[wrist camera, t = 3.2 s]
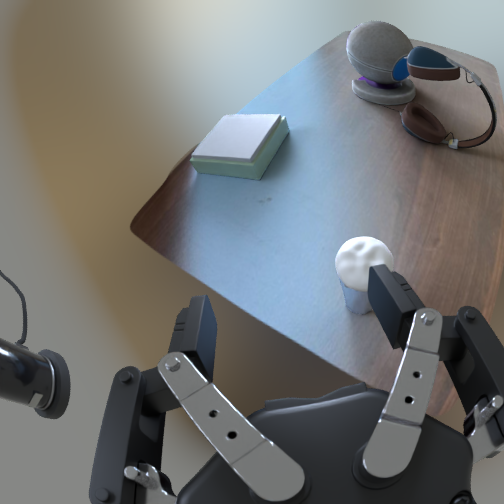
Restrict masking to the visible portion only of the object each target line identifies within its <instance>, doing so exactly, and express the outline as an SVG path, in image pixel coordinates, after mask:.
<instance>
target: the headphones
mask: <svg viewBox="0 0 504 504" xmlns="http://www.w3.org/2000/svg"><path fill="white" fill-rule="evenodd" d="M404 58H405V59H407V68H408V72H409V74H410V75H411V76H413V77H416V78H420V79H425V80H437V81H450V80H456V79H458V78H459V77H460V67H461V68H463V69H464V70H465V71H467V72H468V73H470V74H471V78H472V79H473V80H474V81H472V82H475V83H476V84H477V86H479V87H480V88H481V90H482V91H483V93H484V95H485V97H486V99H487V101H488V103H489V106H490V109H491V112H492V121H491V125H490V127H489V129H488V130H487V131H486V132H485V133H484V134H483V135H481V136H479V137H477V138H474V139H469V140H463V141H458V139H454V137H453V139H451V140H449V142H448V141H444V139H445V138H446V137H447V136H448V135H449V134H450V133H451V132H450V133H449V134H448V135H447V136H446V130H445V128H444V127H443V125H442V124H441V123H440V121H439V120H438V119H437V118H436V117H435V116H434V115H433V114H432V113H431V112H430V111H428V110H427V109H426V108H424V107H423V106H421V105H420V104H417V103H415V102H410V103H408V104H407V105H406V107H405V109H404V110H403V113H402V112H400V115H401V116H402V118H401V120H402V124H403V127H404V128H405V130H406V131H407V132H408V133H410V134H411V135H413V136H415V137H417V138H420V139H422V140H425V141H429V142H432V143H441V142H442V141H444V142H442V143H445V142H448V143H445V144H449V147H450V148H454V149H457V148H471V147H476V146H479V145H481V144H483V143H485V142H486V141H487V140H489V139H490V137H491V136H492V134H493V132H494V130H495V127H496V122H497V115H496V108H495V104H494V102H493V99H492V97H491V95H490V93H489V91H488V90H487V88H486V87H485V86H484V84H483V83H482V82H481V79H480V78H479V77H478V76H477V75H476V74H475V73H474V72H470V71H469V70H468V69H466V68H465V67H463V66H462V65H460V64H458V63H457V62H455V61H453V60H451V59H449V58H448V57H446V56H444V55H442V54H440V53H438V52H436V51H434V50H432V49H429V48H426V47H422V46H418V47H415V48H413V49H412V50H411V51H410V53H409V54H408V56H407V57H404ZM466 80H467V73H466ZM467 82H468V81H467ZM472 82H468V83H472ZM362 99H363V98H362ZM365 100H366V99H365ZM368 101H369V100H368ZM371 102H372V101H371ZM374 103H375V102H374ZM376 104H377V103H376ZM379 105H380V104H379ZM382 106H383V105H382ZM493 106H494V107H493ZM384 107H385V106H384ZM387 108H388V107H387ZM390 109H391V108H390ZM393 110H394V109H393ZM396 111H397V110H396ZM398 112H399V111H398ZM401 113H402V114H401ZM452 135H453V134H452Z"/></svg>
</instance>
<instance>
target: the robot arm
mask: <svg viewBox="0 0 504 504" xmlns="http://www.w3.org/2000/svg"><path fill="white" fill-rule="evenodd" d="M0 275H1V276H2V277H3V278H4V279H5V280H6V281H7V282H8V283H10V284H11V285H12V286H13V288H14V289H15V290H16V292H17V293H18V294H19V296H20V298H21V301H22V308H23V333H22V338H21V339H20V340H18V341H17V342H15V344H13V343H10V342H8V341H6V340H4V339H2V338H0V398H1V399H5V400H8V401H11V402H15V403H19V404H23V405H27V406H29V407H33V408H37V409H41V410H47V409H48V408H50V406H51V405H52V403H53V401H54V398H55V394H56V387H57V379H56V371H55V368H54V365H53V363H52V361H51V360H50V359H49V358H48V357H46V356H43V355H39V354H36V353H34V352H31V351H29V349H28V347H26V346H23V345H21V344H23V343H24V342H25V340H26V335H27V311H26V302H25V298H24V296H23V294H22V293H21V291H20V290H19V289H18V287H17V286H16V285H15V284H14V283H13V282H12V281H11V280H10V279H9V278H7V277H6V276H5V275H4V274H3V273H2V272H1V270H0ZM367 294H368V300H369V303H370V305H371V306H372V308H373V310H374V312H375V314H376V316H377V318H378V320H379V322H380V324H381V326H382V328H383V330H384V332H385V334H386V336H387V338H388V340H389V342H390V344H391V346H392V348H393V349H397V348H400V347H401V348H402V350H403V352H404V353H403V356H402V359H401V362H400V365H399V368H398V371H397V374H396V377H395V380H394V382H393V385H392V388H391V390H390V393H389V392H387V391H384V390H380V389H373V388H367V387H366V384H365V382H362V383H359V384H355V385H350V386H346V387H342V388H339V389H337V390H335V391H333V392H331V393H329V394H326V395H324V396H322V397H320V398H315V399H312V398H291V397H290V398H283V399H276V400H269V401H265V408H263V409H260V410H258V411H256V412H254V413H253V414H251V415H249V416H248V417H247V418H245V417H244V416H243V415H242V414H241V413H240V412H239V411H238V410H237V409H236V408H235V407H234V406H233V404H232V403H231V402H230V401H229V400H228V399H227V398H226V397H225V396H224V395H223V394H222V393H221V392H220V391H219V390H218V389H217V387H216V386H214V384H213V383H212V381H213V369H214V358H215V347H216V336H217V322H216V318H215V316H214V312H213V309H212V307H211V303H210V301H209V298H208V296H207V295H202V296H195V297H192V298H191V301H190V305H189V308H183V309H182V310H181V312H180V313H179V314H178V316H177V319H176V325H175V327H174V332H173V335H172V339H171V343H170V347H169V351H168V354H167V355H165V356H164V357H163V358H162V359H161V360H160V361H159V363H158V366H157V367H155V368H153V369H149V370H146V371H143V372H140V371H139V370H138V368H136V367H133V366H128V367H125V368H122V369H121V370H120V371H118V372H117V373H116V375H115V377H114V380H113V383H112V386H111V391H110V394H109V398H108V401H107V405H106V409H105V413H104V417H103V421H102V426H101V430H100V435H99V439H98V444H97V448H96V453H95V458H94V464H93V469H92V475H91V482H90V488H89V498H90V501H91V503H92V504H476V502H475V500H474V498H473V496H472V494H471V484H470V481H471V471H472V466H473V464H475V463H476V462H478V461H480V460H482V459H484V458H492V457H494V456H495V455H497V454H498V453H500V452H501V451H502V450H504V347H503V345H502V344H501V342H500V341H499V339H498V338H497V336H496V335H495V333H494V332H493V330H492V328H491V327H490V326H489V324H488V323H487V321H486V320H485V318H484V317H483V315H482V314H481V313H480V311H479V310H477V309H476V308H474V307H471V306H464V307H461V308H460V309H459V310H458V313H457V315H456V316H442V315H441V314H440V313H439V312H438V311H437V310H435V309H433V308H427V307H425V306H424V304H423V303H422V302H421V300H420V299H419V297H418V296H417V295H416V293H415V292H414V291H413V290H412V288H411V287H410V285H409V284H408V283H407V281H406V280H405V279H404V277H403V276H401V275H400V274H398V273H397V272H391V271H390V270H389V269H388V267H387V266H386V265H385V264H380V265H375V266H370V268H369V277H368V290H367ZM470 353H471V354H470ZM438 361H443V362H444V364H445V366H446V368H447V370H448V373H449V375H450V377H451V379H452V381H453V384H454V386H455V388H456V390H457V393H458V395H459V397H460V400H461V402H462V405H463V407H464V409H465V412H466V415H467V416H466V418H465V420H464V424H463V426H464V435H463V434H461V433H460V432H458V431H456V430H454V429H452V428H451V427H449V426H447V425H445V424H443V423H442V422H440V421H438V420H436V419H434V418H433V417H431V416H429V415H427V414H426V410H427V406H428V403H429V399H430V395H431V392H432V388H433V384H434V380H435V375H436V371H437V366H438ZM179 407H183V409H184V410H185V411H186V413H187V414H188V416H189V417H190V418H191V420H192V421H193V422H194V424H195V425H196V426H197V427H198V429H199V430H200V431H201V433H202V434H203V435H204V436H205V438H206V439H207V440H208V441H209V442H210V444H211V445H212V446H213V447H214V448H215V450H216V451H217V452H216V453H215V454H214V455H213V456H212V457H211V458H210V460H209V461H208V462H207V463H206V464H205V465H204V466H203V467H202V468H201V469H200V470H199V472H198V473H197V474H196V475H195V476H194V477H193V478H192V479H191V480H190V481H189V482H188V483H187V484H186V485H185V486H184V487H183V488H182V490H181V491H180V492H179V494H178V496H176V495H175V494H174V493H173V491H172V487H171V482H170V479H169V478H168V477H167V476H166V475H165V474H164V473H162V472H161V459H162V458H161V457H162V446H163V436H164V426H165V415H166V411H169V410H173V409H176V408H179Z"/></svg>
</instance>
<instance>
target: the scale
mask: <svg viewBox="0 0 504 504" xmlns="http://www.w3.org/2000/svg"><path fill="white" fill-rule="evenodd" d="M288 132H289V128H288V124H287V121H286V118H285V117H281V116H280V114H234V115H225V116H223V118H222V119H221V120H220V121H219V122H218V123H217V125H216V126H215V127H214V128H213V129H212V130H211V132H210V133H209V134H208V135H207V136H206V137H205V139H204V140H203V141H202V142H201V144H200V145H199V146H198V147H197V148H196V150H195V151H194V152H193V153H192V158H191V159H190V162H191V163H192V165H193V167H194V168H195V170H196V171H197V173H204V174H213V175H222V176H230V177H238V178H246V179H253V180H260V179H261V177H262V175H263V174H264V172H265V170H266V169H267V167H268V165H269V164H270V162H271V160H272V159H273V157H274V155H275V154H276V152H277V150H278V149H279V147H280V145H281V144H282V142H283V141H284V139H285V137H286V136H287V134H288Z"/></svg>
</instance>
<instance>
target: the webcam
mask: <svg viewBox="0 0 504 504" xmlns="http://www.w3.org/2000/svg"><path fill="white" fill-rule="evenodd" d="M412 49H413V46H412V44H411V42H410V40H409V39H408V37H407V36H406V35H405V34H404V33H403V32H402V31H401V30H399V29H398V28H396V27H395V26H393V25H391V24H389V23H386V22H381V21H369V22H365V23H362V24H360V25H358V26H356V27H355V28H354V29H353V30H352V31H351V33H350V34H349V36H348V39H347V54H348V58H349V60H350V62H351V64H352V66H353V67H354V68H355V69H356V71H357V72H358V73H360V74H361V75H362V76H363V77H361V78H359V79H358V80H353V81H352V88H353V91H354V93H355V94H356V95H357V96H359V97H361V98H363V99H366V100H367V101H368V100H369V101H370V102H371V101H372V102H375V103H378V104H386V105H396V104H403V103H407V102H409V101H411V100H412V99H413V98H414V97H415V86H414V84H413V82H412V81H411V80H410V79H408V78H407V77H408V76H409V75H410V74H409V72H408V68H407V59H405V58H404V57H407V56H408V54H409V53H410V51H411V50H412Z"/></svg>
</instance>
